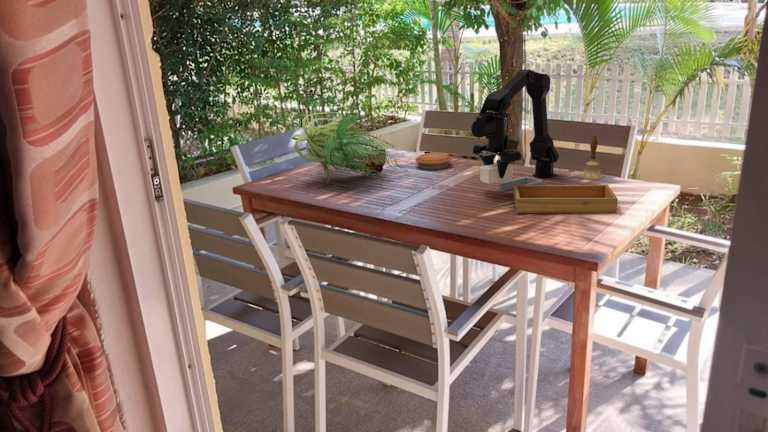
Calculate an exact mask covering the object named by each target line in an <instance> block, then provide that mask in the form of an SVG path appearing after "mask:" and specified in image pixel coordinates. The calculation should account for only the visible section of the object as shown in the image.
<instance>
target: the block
mask: <svg viewBox="0 0 768 432" xmlns="http://www.w3.org/2000/svg"><path fill="white" fill-rule="evenodd" d="M513 169H514V166H513V164H511V163H509V165H508V167H507V169H506V172H505V175H504V177H503V178H502V179H501V178H500V176H499V172H498V167H497V162H496V163H494V164H491V165H486V166H485V165H482V166H480V167H479V171H480V173H479V174H480V176H479V178H480V182H483V183H485V184H488V185H489V184H496V183H501V182H505V181H509V180H513V179H514V178H513V176H514V175H513V173H514V171H513Z"/></svg>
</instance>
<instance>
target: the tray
mask: <svg viewBox="0 0 768 432" xmlns="http://www.w3.org/2000/svg"><path fill="white" fill-rule="evenodd" d="M513 201H514V207H515V210H516V214H617V211H618V202H619V200H618V197H617V195H615V193H614V191H613V190H612V189H611V187H610V186H609V184H543V185H514V196H513Z"/></svg>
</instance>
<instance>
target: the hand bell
mask: <svg viewBox="0 0 768 432" xmlns="http://www.w3.org/2000/svg"><path fill="white" fill-rule="evenodd" d="M598 143H599V142H598V137H597V135H595V134H593V135H592V137H591V139H590V143H589V148H590V160H589V161H587V162H586V163H585V167H584V170H583V172H582V173H581V174H580V175H579V178H581V179H583V180H588V181H597V180H602V179H603V178H604V175H603V174H602V173H601V171H600V163H599V162H598V161H596V151H597V149H598Z"/></svg>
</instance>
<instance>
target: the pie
mask: <svg viewBox="0 0 768 432" xmlns="http://www.w3.org/2000/svg"><path fill="white" fill-rule="evenodd" d="M452 159H453V157H452V156H450V155H449V154H447V153H444V152H428V153H421V154H420V155H418V156H417V157H415V158H414V161H415V163H416V164H418V166H419V167H420V168H421V169H423V170H425V171H426V170H427V171H438V170H445V169H446V168H447V167H448V166H449V164H450V162H451V161H452Z"/></svg>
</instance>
